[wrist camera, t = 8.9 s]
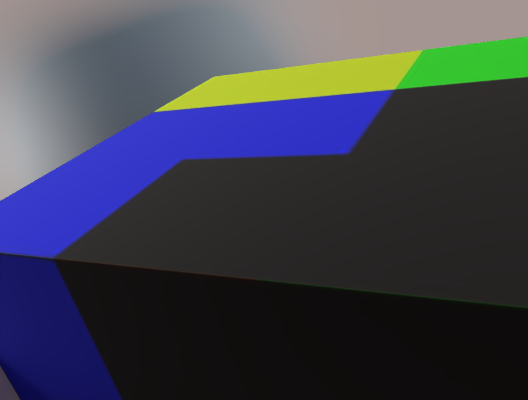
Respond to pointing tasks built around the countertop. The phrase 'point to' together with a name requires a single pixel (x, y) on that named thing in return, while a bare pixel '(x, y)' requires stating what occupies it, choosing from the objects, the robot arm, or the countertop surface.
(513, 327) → the puzzle toy
